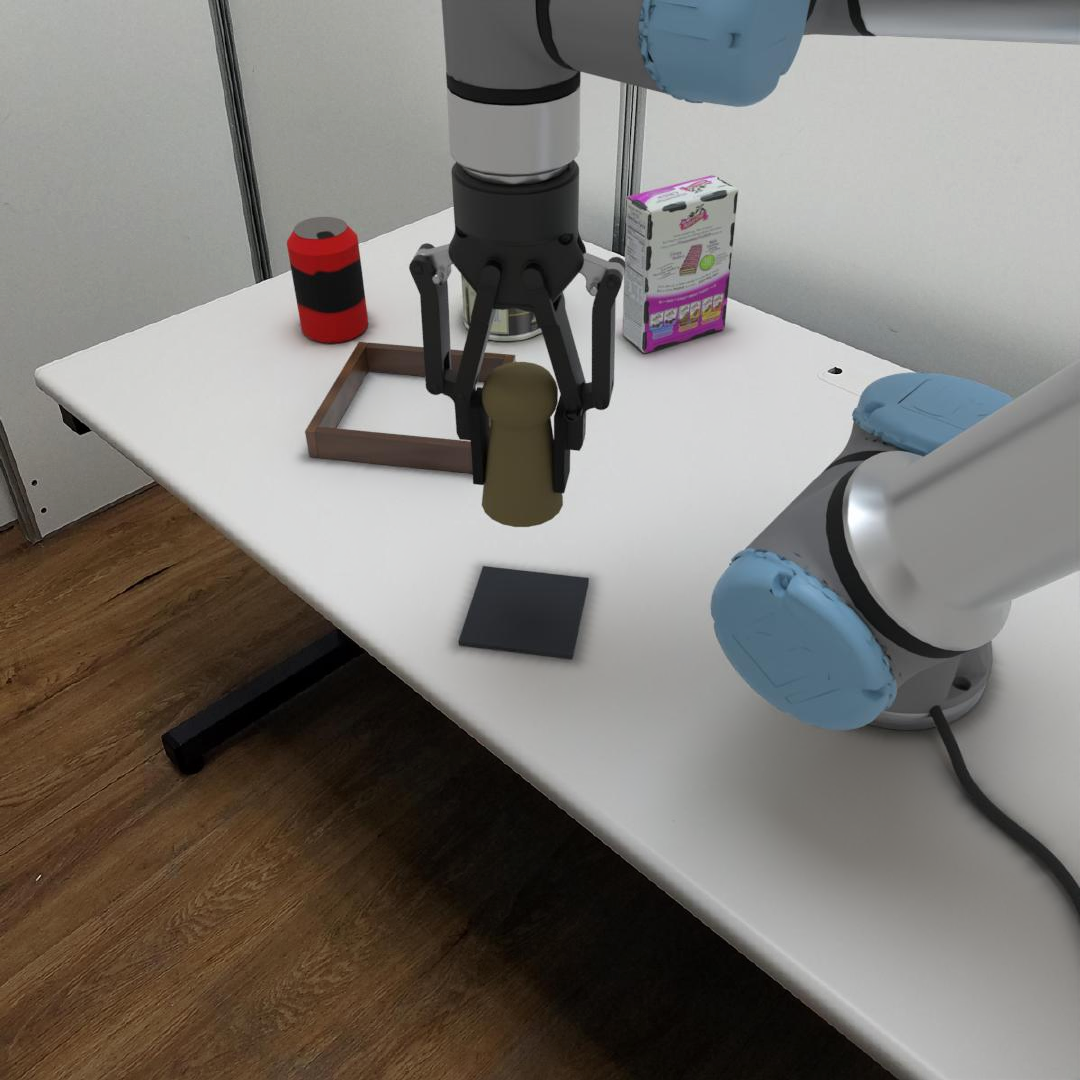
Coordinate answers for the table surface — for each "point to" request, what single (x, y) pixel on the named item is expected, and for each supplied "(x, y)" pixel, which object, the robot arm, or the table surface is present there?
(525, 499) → the olive pawn
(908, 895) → the table surface
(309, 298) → the soda can
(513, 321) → the coffee can
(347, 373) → the wooden frame
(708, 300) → the candy bar box
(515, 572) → the mat
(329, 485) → the table surface
